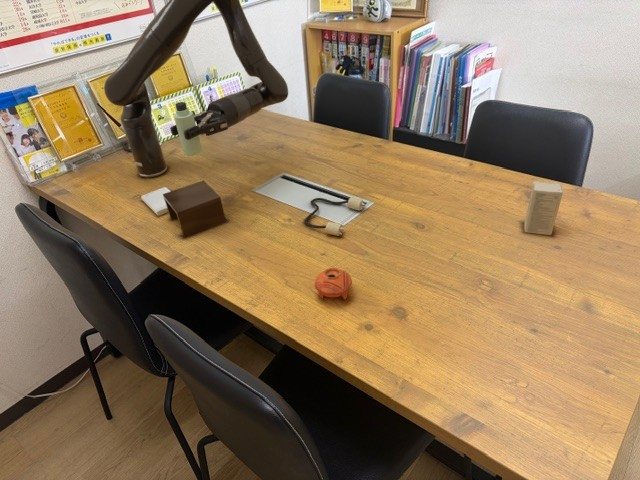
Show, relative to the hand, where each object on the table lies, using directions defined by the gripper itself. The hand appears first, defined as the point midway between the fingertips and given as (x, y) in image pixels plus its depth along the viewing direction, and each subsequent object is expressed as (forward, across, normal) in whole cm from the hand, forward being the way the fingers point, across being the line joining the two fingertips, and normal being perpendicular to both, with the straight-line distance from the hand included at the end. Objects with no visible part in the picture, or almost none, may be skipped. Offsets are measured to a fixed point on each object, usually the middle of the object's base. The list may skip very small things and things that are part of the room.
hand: (178, 133), depth 109 cm
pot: (+4, +48, +26) cm, 55 cm away
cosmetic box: (-43, +76, +26) cm, 91 cm away
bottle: (-3, 0, +6) cm, 7 cm away
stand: (0, -2, +26) cm, 26 cm away
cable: (-20, +29, +26) cm, 44 cm away
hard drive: (0, -18, +26) cm, 32 cm away
